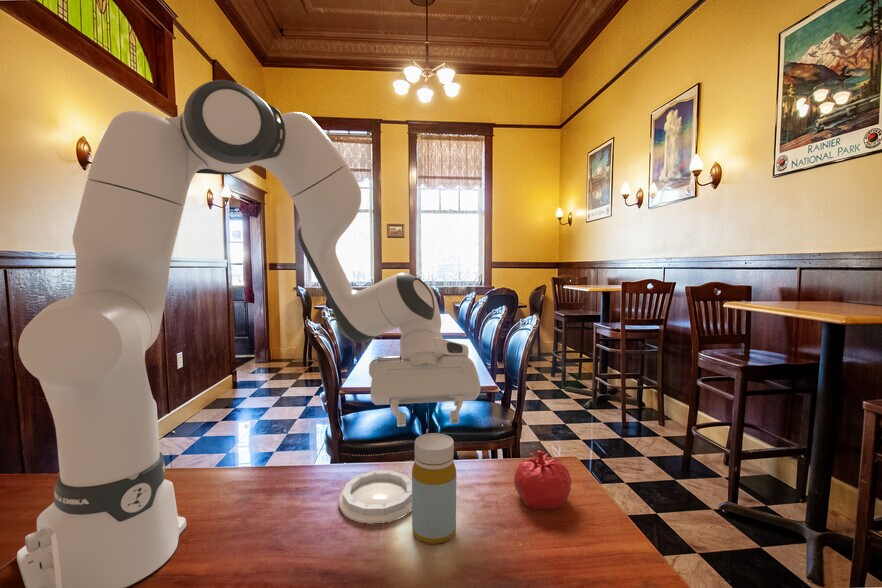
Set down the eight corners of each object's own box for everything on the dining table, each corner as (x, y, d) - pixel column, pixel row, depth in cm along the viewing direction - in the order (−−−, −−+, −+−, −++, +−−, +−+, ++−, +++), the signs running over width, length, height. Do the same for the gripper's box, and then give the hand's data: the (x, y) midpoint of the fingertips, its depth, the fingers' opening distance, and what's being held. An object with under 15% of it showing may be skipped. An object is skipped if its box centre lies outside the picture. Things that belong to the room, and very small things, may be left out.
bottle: (451, 549, 63) (452, 453, 62) (406, 542, 64) (406, 449, 63) (458, 520, 70) (459, 433, 68) (418, 515, 71) (418, 430, 70)
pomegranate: (578, 516, 71) (581, 465, 70) (520, 517, 71) (522, 465, 70) (559, 484, 81) (561, 438, 80) (508, 484, 81) (510, 438, 80)
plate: (322, 509, 73) (321, 497, 73) (371, 472, 85) (371, 462, 85) (388, 534, 66) (388, 521, 66) (431, 490, 79) (431, 479, 78)
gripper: (368, 348, 78) (367, 419, 69) (475, 345, 81) (487, 413, 72) (369, 365, 83) (368, 434, 74) (470, 362, 86) (481, 427, 77)
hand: (428, 423), depth 73 cm, fingers open, 8 cm apart
